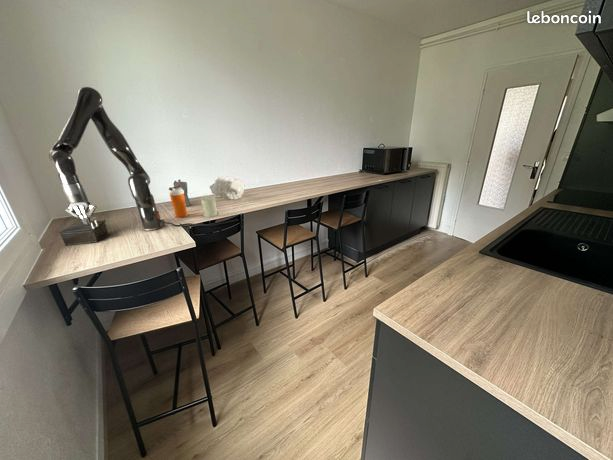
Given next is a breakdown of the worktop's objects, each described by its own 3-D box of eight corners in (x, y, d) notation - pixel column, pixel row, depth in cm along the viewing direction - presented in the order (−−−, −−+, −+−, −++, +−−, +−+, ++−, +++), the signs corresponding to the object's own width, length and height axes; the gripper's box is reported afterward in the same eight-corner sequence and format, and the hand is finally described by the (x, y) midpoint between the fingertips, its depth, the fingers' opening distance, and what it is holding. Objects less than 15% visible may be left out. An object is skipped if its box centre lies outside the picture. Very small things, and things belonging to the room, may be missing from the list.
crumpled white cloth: (223, 199, 218) (244, 202, 206) (206, 195, 203) (228, 198, 191) (227, 178, 218) (248, 180, 206) (210, 173, 203) (232, 174, 191)
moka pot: (184, 208, 183) (178, 181, 175) (172, 205, 191) (165, 179, 183) (195, 205, 191) (190, 179, 183) (183, 202, 198) (177, 177, 190)
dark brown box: (108, 233, 145) (104, 222, 142) (97, 242, 134) (93, 231, 131) (79, 235, 142) (74, 224, 139) (65, 245, 131) (60, 234, 128)
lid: (106, 221, 142) (103, 213, 140) (94, 230, 131) (91, 222, 129) (74, 224, 139) (71, 216, 137) (60, 233, 128) (56, 225, 126)
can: (200, 214, 172) (197, 197, 167) (213, 211, 178) (210, 195, 173) (207, 218, 166) (204, 200, 161) (220, 214, 172) (217, 197, 167)
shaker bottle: (191, 214, 172) (185, 186, 164) (180, 218, 165) (174, 189, 157) (182, 212, 176) (176, 184, 168) (171, 217, 168) (164, 187, 160)
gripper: (53, 195, 119) (68, 228, 126) (86, 192, 122) (99, 225, 129) (63, 191, 125) (77, 223, 132) (94, 189, 128) (105, 220, 135)
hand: (87, 224), depth 131 cm, fingers closed
